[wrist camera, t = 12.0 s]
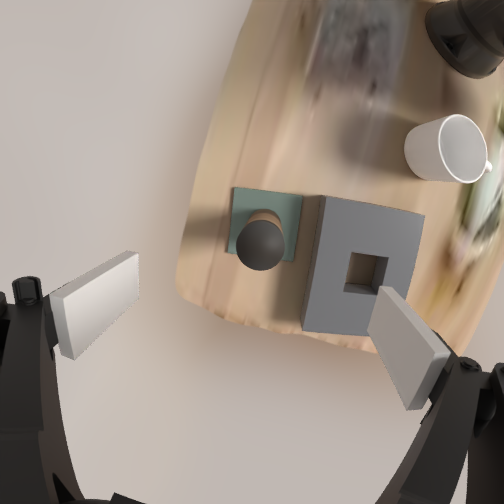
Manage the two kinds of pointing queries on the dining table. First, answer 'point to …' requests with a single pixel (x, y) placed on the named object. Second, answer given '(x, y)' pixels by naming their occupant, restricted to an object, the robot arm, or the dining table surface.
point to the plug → (261, 241)
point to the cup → (447, 150)
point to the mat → (260, 199)
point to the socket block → (338, 256)
